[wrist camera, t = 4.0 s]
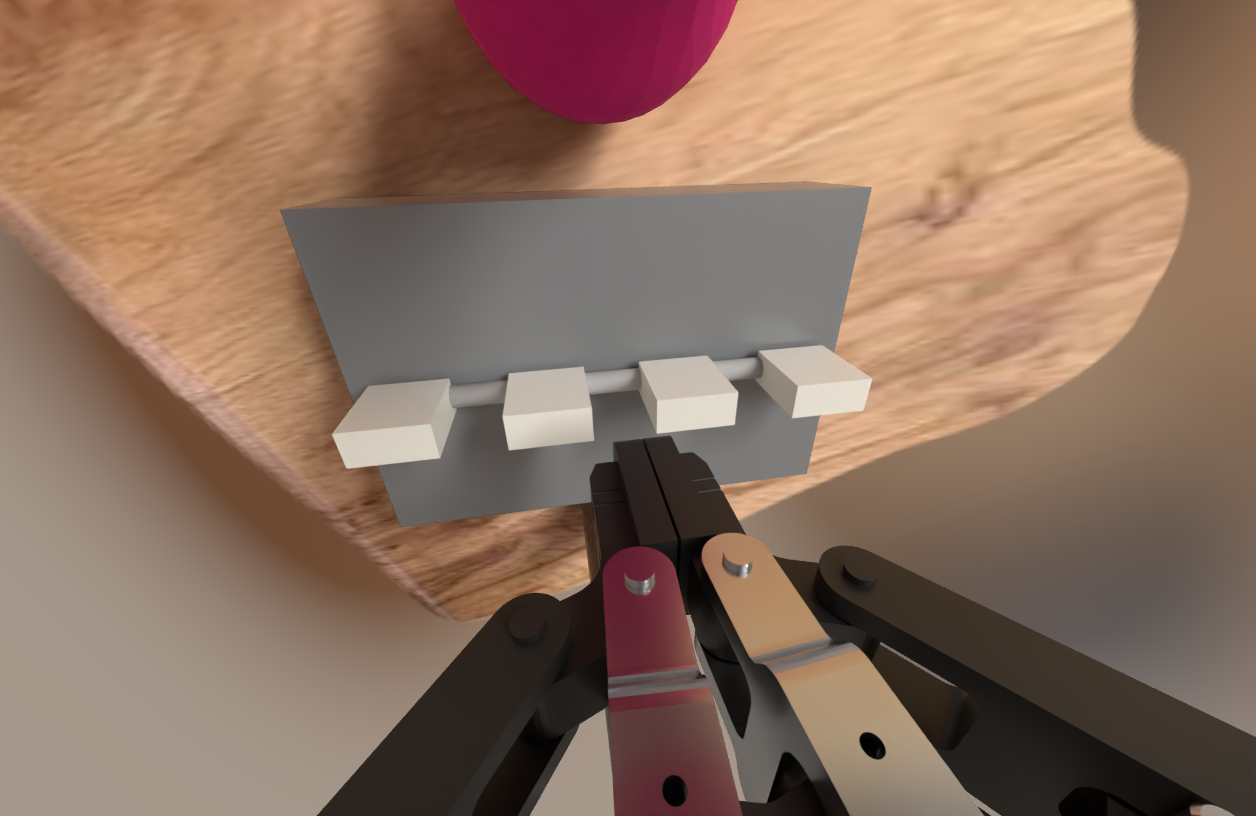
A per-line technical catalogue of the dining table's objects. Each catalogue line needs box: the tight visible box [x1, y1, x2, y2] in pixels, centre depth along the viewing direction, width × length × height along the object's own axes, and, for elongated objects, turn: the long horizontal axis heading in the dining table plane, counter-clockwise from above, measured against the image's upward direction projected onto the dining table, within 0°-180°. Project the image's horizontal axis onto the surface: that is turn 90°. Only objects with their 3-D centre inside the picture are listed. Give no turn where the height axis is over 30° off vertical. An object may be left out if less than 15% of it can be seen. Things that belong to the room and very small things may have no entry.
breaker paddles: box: [332, 345, 872, 469], centre depth 15 cm, size 1×16×3 cm, turn 91°
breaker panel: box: [280, 182, 872, 527], centre depth 18 cm, size 12×18×4 cm, turn 91°
